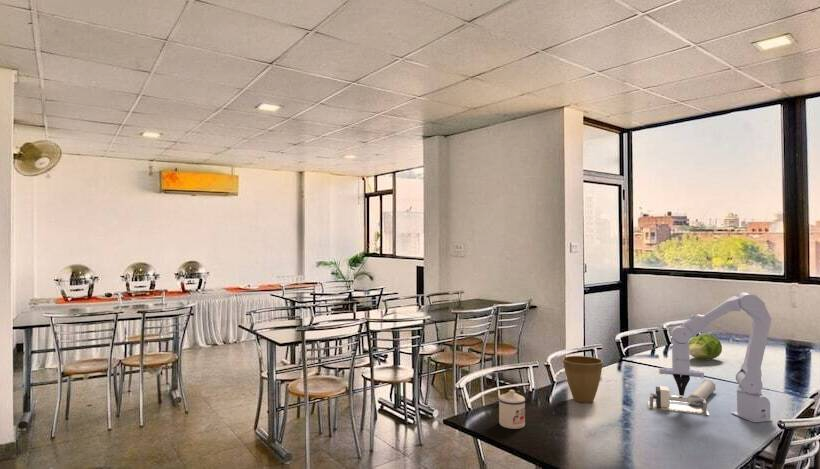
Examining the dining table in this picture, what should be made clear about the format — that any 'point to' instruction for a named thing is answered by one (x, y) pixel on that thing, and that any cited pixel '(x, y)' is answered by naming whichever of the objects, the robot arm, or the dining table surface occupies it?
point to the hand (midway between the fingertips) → (681, 394)
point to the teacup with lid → (512, 410)
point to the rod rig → (681, 407)
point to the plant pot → (583, 377)
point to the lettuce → (705, 347)
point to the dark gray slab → (658, 397)
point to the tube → (703, 391)
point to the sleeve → (665, 396)
